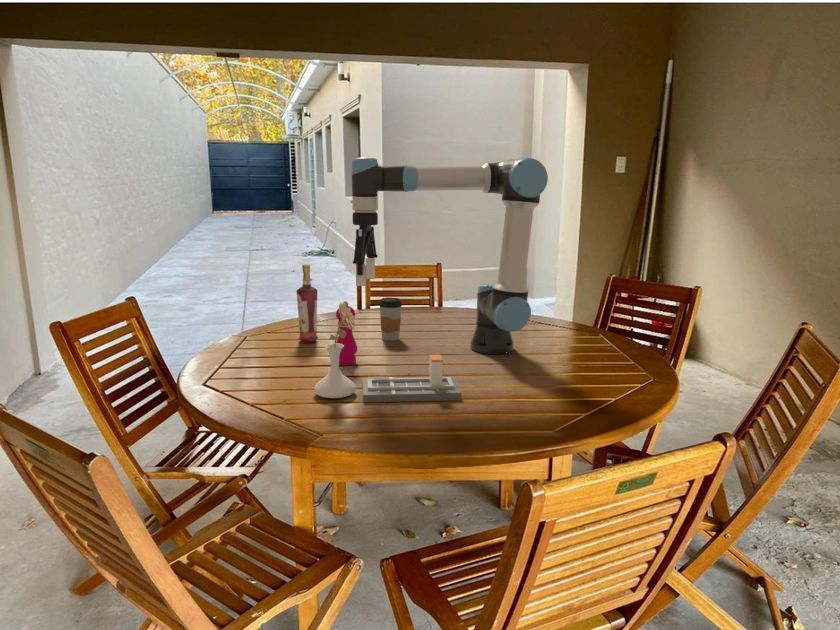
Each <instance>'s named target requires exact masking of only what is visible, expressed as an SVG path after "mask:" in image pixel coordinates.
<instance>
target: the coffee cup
mask: <svg viewBox="0 0 840 630" xmlns="http://www.w3.org/2000/svg"><path fill="white" fill-rule="evenodd" d="M401 300H402V299H400V298H398V297H384V298H380V301H379V305H378V306H379V310H380V311H379V312H380V313H379V314H380V330H381V338H382V340H383V341H385V342H395V341H396V342H397V341H399V338H400V332H401V320H402V319H401V315H402V306H403V305H402V304H403V303H402V301H401Z"/></svg>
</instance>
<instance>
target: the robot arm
mask: <svg viewBox="0 0 840 630" xmlns="http://www.w3.org/2000/svg"><path fill="white" fill-rule="evenodd" d="M548 179H549V176H548V172H547V169H546V167H545V165H544V164H543V163H542V162H541V161H540V160H537V159H536V158H533V157H532V158H530V157H520V158H515V159H514V158H513V159H507V160H503V161H498V162H486V163H484V164H483V165H482V166H481V165H479V166H468V165H467V166H463V165H462V166H414V165H408V164H407V165H381V164H379V162H378V159H377V158H376V157H374V158H373V157H356V158H353V159H352V162H351V192H352V195H351V196H352V199H351V200H350V203H351V204H352V210H353V212H352V215H351V216H352V225H354V226H359V228H356V229H355V243H354V244H355V245H354V246H355V247H354V254H353V260H352V264H353V265H354V264H355V286H356V287H366V285H367V284H366V279H367V280H369V279H370V280H375V279H376V259H377V258H378V254H377V248H376V238H375V226H377V225H378V221H379V214H378V212H377V211H378V210H379V197H378V195H379V194H378V192H405V193H409V192H415V191H418V192H419V191H423V192H424V191H429V192H430V191H482V192H483V193H484V194H497V195H501V196H502V197H501V203H502V204H504V205H505V213H504V214H505V215H504V221H503V222H504V223H503V230H502V239H501V249H500V258H499V265H498V267H499V268H498V274H497V276H498V277H497V282H496V283H493V284H491V283H489V284H480V285H479V286H478V287H477V293H476V321H475V322H476V323H475V328H474V332H473V334H472V338H471V340H470V349H471V350H472V351H474V352H477V353H480V354H489V355H500V354H499V353H505V354H507V353H506V352H509V353H511V352H510V351H512V350H513V351H514V346H515V344H514V339H513V336H512V333H514V332H517V331H520V330H522V328H524V327H526V325H527V324H528V323H529V321H530V320H531V316H532V309H531V306H530V304H529V302H528V299H529V298H528V297H529V289H528V288H527V287H526V285H525V284H526V283H525V282H526V274H527V267H528V256H529V249H530V240H531V234H532V233H531V232H532V223H533V216H534V210H535V208H536V207H538V206H539V205H540V200H541V194H542V193H543V192H544V191H545V190H546V187H547V185H548V181H549V180H548ZM513 351H512V352H513Z"/></svg>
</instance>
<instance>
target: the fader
mask: <svg viewBox="0 0 840 630" xmlns="http://www.w3.org/2000/svg"><path fill="white" fill-rule="evenodd" d="M428 361H429V363H428V364H429V365H428V370H429V371H428V377H429V382H430V385H442V376H443V367H444V366H443V364H444V363H443V362H444V359H443V357H442V355H441V354H429V360H428Z"/></svg>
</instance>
